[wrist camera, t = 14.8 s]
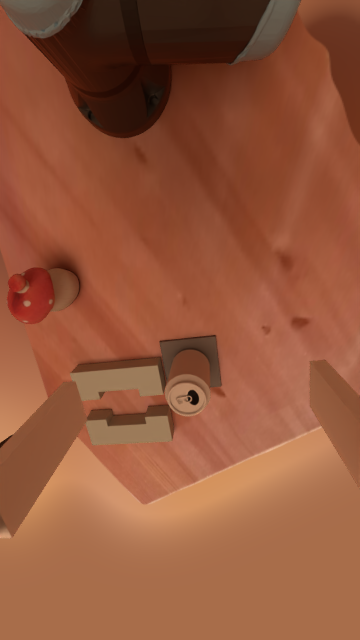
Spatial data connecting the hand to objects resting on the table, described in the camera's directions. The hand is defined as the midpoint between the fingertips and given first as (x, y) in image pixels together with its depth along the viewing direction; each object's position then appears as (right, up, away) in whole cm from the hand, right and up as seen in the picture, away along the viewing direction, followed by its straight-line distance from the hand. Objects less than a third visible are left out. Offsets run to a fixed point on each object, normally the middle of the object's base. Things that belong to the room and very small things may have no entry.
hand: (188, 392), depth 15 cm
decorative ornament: (-23, +11, +36) cm, 44 cm away
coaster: (+2, -5, +38) cm, 38 cm away
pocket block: (-12, -13, +42) cm, 46 cm away
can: (+2, -5, +38) cm, 38 cm away
